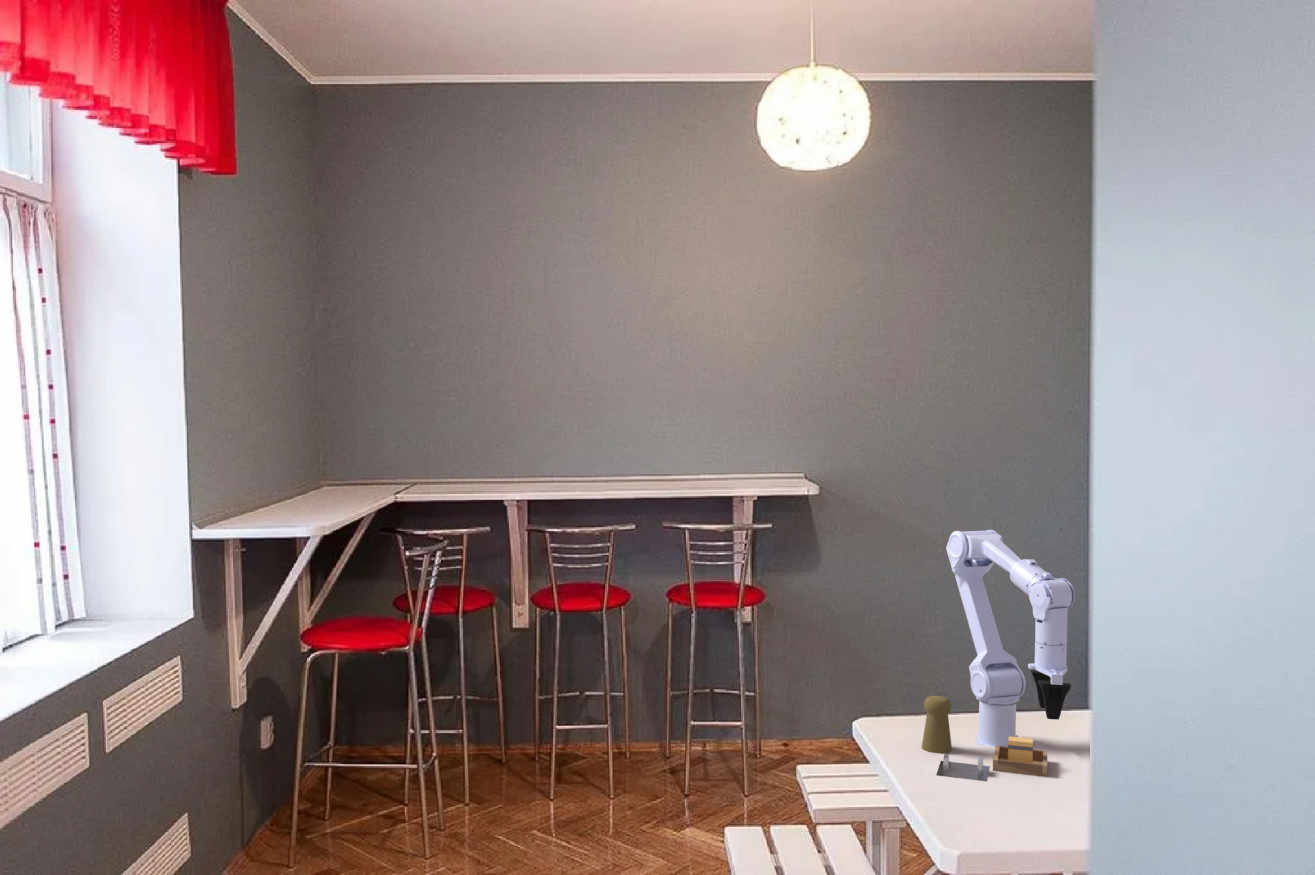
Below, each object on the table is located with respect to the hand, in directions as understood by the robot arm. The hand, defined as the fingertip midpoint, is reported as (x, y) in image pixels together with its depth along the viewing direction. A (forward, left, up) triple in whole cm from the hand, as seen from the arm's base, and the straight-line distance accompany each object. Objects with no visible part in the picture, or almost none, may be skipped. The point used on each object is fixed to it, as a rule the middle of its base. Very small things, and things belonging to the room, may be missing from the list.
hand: (1049, 713), depth 211 cm
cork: (-2, -21, -11) cm, 24 cm away
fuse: (+3, -5, -10) cm, 11 cm away
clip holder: (+10, -15, -10) cm, 21 cm away
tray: (+3, -5, -10) cm, 12 cm away
